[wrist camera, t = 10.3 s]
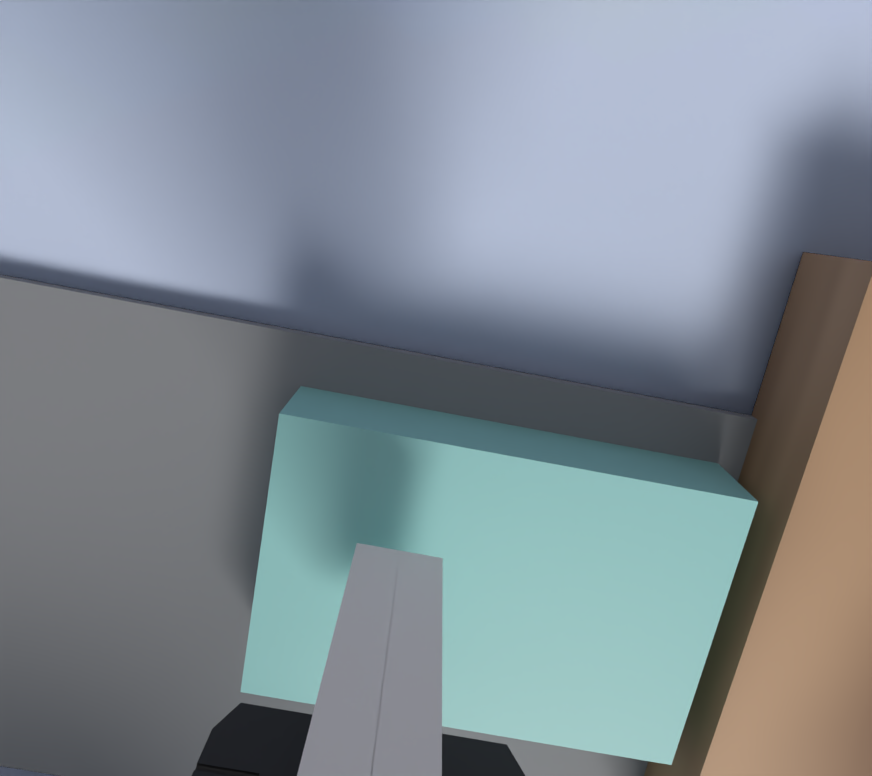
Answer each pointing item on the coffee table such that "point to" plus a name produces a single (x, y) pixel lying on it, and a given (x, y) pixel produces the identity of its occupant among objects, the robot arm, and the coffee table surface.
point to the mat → (205, 510)
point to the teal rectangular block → (504, 566)
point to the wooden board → (799, 555)
